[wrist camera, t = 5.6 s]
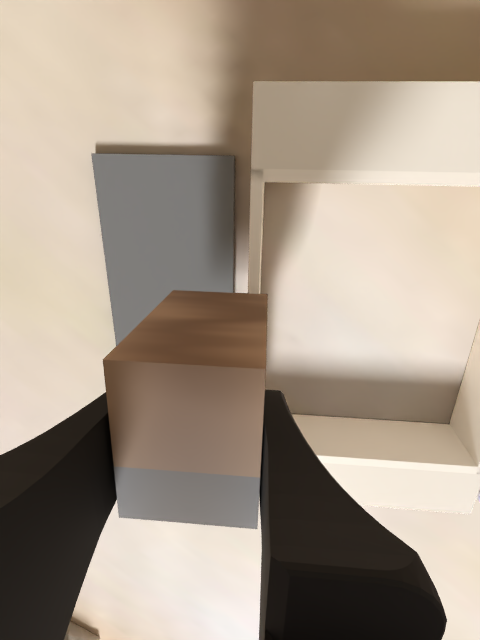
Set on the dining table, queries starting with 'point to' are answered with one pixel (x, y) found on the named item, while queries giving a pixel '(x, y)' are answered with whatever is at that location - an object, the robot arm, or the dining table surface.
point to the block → (190, 410)
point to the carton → (385, 169)
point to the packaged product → (79, 633)
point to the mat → (164, 229)
